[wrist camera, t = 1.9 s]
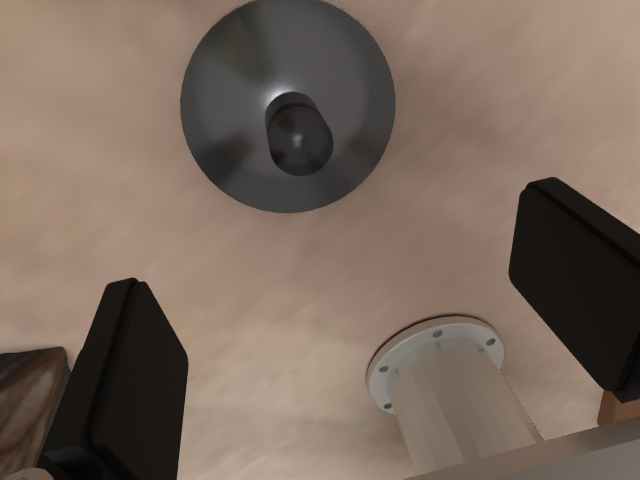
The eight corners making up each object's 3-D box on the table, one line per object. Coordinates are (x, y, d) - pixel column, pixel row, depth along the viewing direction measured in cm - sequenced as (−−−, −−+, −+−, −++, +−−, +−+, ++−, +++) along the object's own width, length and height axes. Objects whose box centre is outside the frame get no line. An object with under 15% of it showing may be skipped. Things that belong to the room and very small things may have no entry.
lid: (395, 182, 27) (424, 221, 22) (220, 223, 26) (217, 270, 22) (381, -28, 20) (418, -27, 16) (146, 21, 19) (122, 36, 15)
